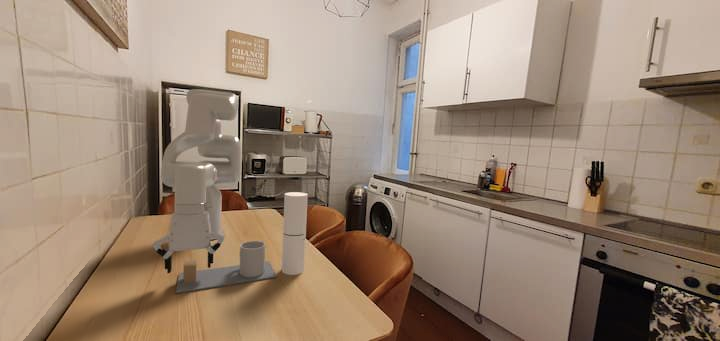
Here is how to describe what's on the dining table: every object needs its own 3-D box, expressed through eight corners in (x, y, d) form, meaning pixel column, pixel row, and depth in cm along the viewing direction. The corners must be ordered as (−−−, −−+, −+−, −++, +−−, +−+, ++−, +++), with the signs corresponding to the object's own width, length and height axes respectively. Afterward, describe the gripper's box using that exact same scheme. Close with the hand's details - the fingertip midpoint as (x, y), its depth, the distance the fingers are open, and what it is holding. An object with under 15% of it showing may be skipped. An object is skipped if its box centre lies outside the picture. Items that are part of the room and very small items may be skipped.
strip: (179, 274, 86) (179, 256, 86) (269, 262, 98) (269, 246, 98) (175, 293, 76) (175, 273, 75) (276, 277, 88) (277, 260, 87)
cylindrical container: (277, 269, 94) (280, 193, 91) (295, 263, 99) (298, 191, 97) (289, 277, 89) (293, 197, 87) (308, 270, 94) (312, 194, 92)
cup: (248, 280, 84) (249, 250, 83) (229, 270, 90) (230, 242, 89) (269, 272, 90) (270, 244, 89) (250, 263, 96) (251, 237, 95)
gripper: (224, 204, 88) (223, 259, 89) (154, 207, 79) (154, 268, 81) (225, 210, 81) (224, 269, 82) (150, 213, 73) (150, 279, 74)
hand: (189, 268), depth 82 cm, fingers open, 9 cm apart
